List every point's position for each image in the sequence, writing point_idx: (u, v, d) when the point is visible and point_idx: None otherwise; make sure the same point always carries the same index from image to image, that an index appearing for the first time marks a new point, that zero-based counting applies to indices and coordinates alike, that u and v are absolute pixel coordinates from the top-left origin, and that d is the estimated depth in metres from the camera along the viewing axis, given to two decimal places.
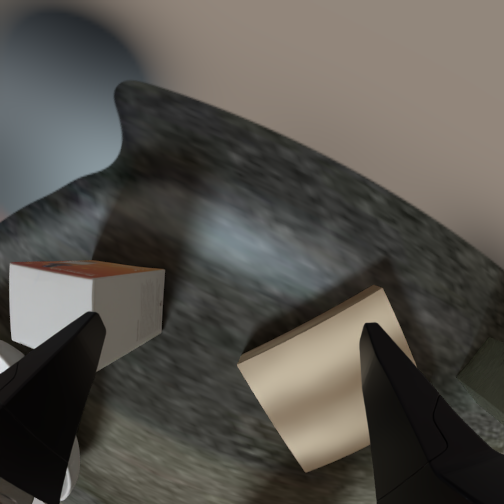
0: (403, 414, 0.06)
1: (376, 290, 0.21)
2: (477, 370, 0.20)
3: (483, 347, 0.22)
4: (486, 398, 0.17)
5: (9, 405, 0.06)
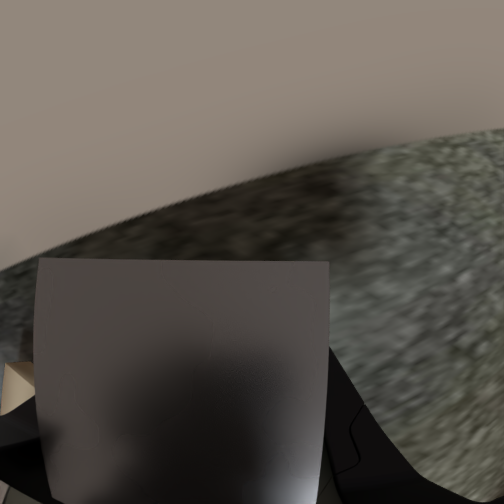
0: None
1: None
2: None
3: None
4: None
5: None
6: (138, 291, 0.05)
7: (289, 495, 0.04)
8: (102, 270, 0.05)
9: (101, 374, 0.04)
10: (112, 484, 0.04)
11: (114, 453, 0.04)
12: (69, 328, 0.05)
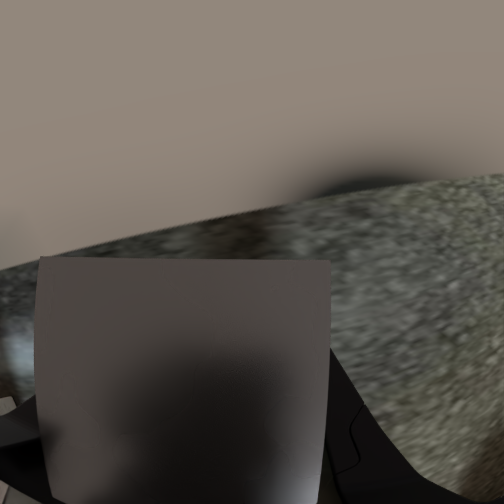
0: None
1: None
2: None
3: None
4: None
5: None
6: (139, 290, 0.05)
7: (290, 494, 0.04)
8: (103, 269, 0.05)
9: (102, 373, 0.04)
10: (112, 483, 0.04)
11: (115, 452, 0.04)
12: (70, 327, 0.05)
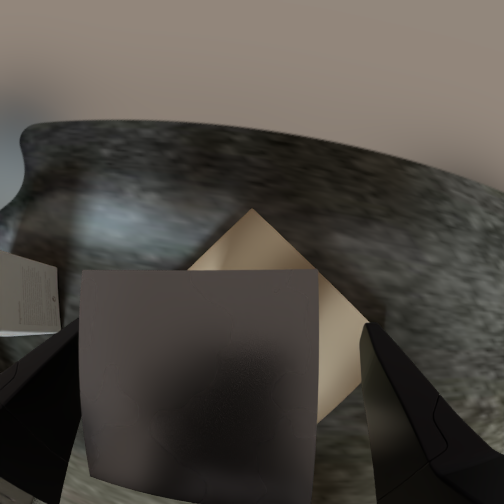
0: (403, 414, 0.06)
1: None
2: None
3: None
4: None
5: (9, 404, 0.06)
6: (172, 295, 0.06)
7: (293, 453, 0.05)
8: (141, 279, 0.06)
9: (142, 362, 0.06)
10: (147, 455, 0.05)
11: (151, 427, 0.06)
12: (113, 327, 0.06)
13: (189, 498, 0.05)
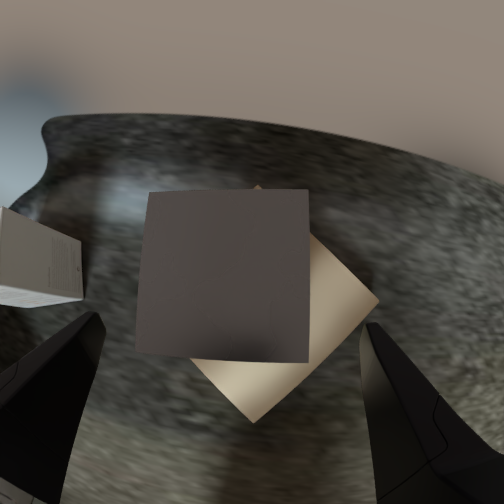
0: (403, 414, 0.06)
1: None
2: None
3: None
4: None
5: (9, 405, 0.06)
6: (216, 204, 0.10)
7: (295, 310, 0.09)
8: (194, 195, 0.10)
9: (192, 248, 0.09)
10: (189, 320, 0.09)
11: (194, 296, 0.09)
12: (172, 227, 0.10)
13: (218, 355, 0.09)
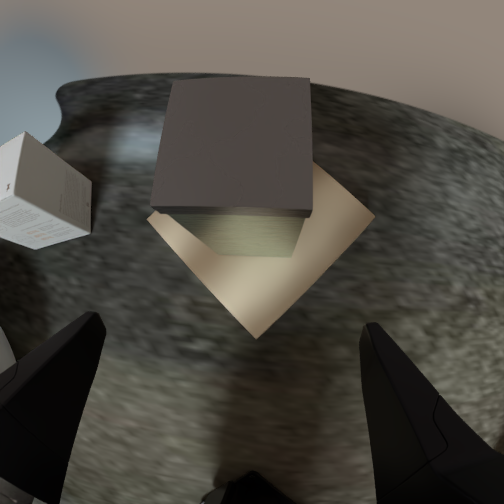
0: (403, 414, 0.06)
1: None
2: None
3: None
4: None
5: (9, 405, 0.06)
6: (231, 86, 0.10)
7: (299, 163, 0.10)
8: (213, 81, 0.10)
9: (209, 117, 0.10)
10: (203, 173, 0.10)
11: (210, 153, 0.10)
12: (192, 103, 0.10)
13: (228, 202, 0.10)
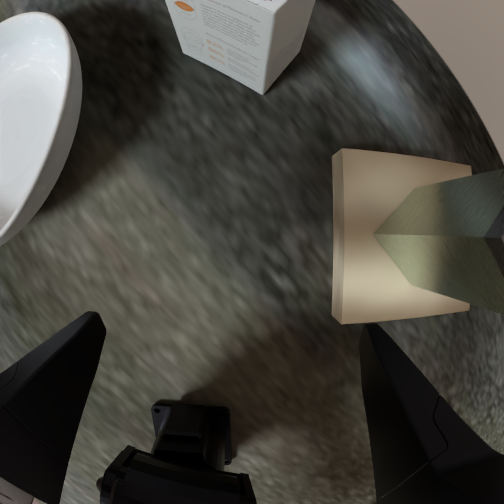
0: (403, 414, 0.06)
1: None
2: (400, 216, 0.18)
3: (407, 198, 0.20)
4: (416, 233, 0.15)
5: (9, 405, 0.06)
6: None
7: None
8: None
9: None
10: None
11: None
12: None
13: None
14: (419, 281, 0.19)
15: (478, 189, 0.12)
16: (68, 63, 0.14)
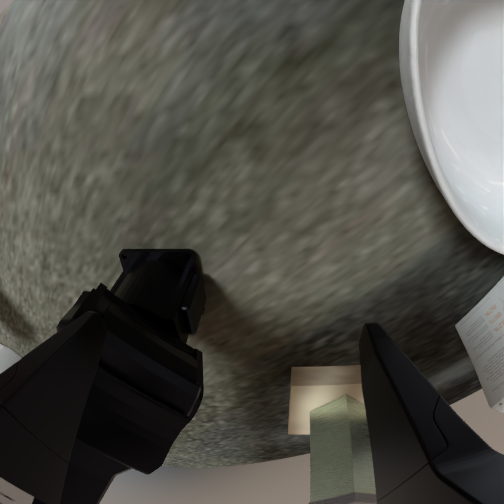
0: (403, 414, 0.06)
1: None
2: (356, 414, 0.28)
3: None
4: (351, 441, 0.24)
5: (9, 404, 0.06)
6: None
7: None
8: None
9: None
10: None
11: None
12: None
13: None
14: (315, 423, 0.29)
15: (371, 469, 0.23)
16: None
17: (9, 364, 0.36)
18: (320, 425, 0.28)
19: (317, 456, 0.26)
